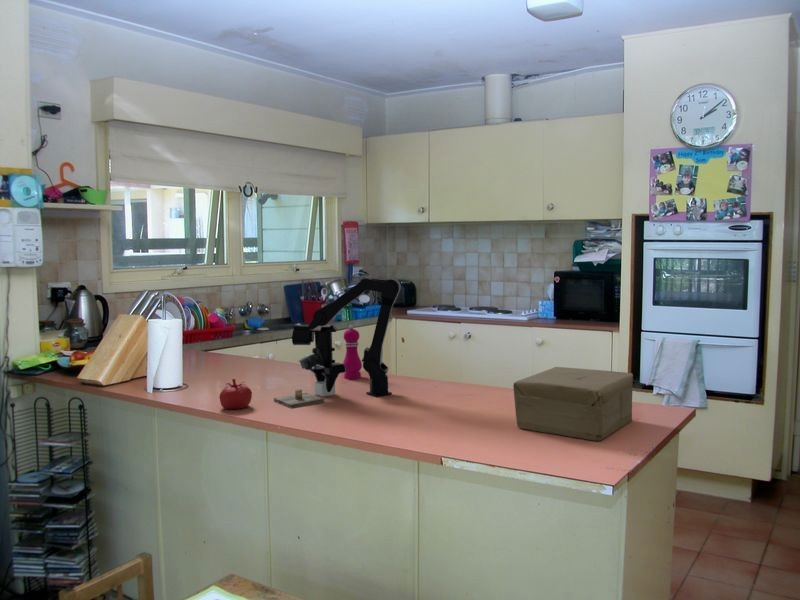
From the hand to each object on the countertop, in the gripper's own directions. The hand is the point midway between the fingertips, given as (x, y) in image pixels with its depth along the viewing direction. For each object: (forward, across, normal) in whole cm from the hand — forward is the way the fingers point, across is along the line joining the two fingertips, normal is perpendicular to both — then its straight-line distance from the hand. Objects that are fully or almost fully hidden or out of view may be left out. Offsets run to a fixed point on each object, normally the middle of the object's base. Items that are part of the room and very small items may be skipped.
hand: (325, 390), depth 240 cm
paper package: (+2, +78, +35) cm, 86 cm away
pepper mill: (+1, -18, +22) cm, 28 cm away
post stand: (+1, +4, -12) cm, 13 cm away
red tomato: (+2, -2, -31) cm, 31 cm away
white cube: (+1, 0, 0) cm, 1 cm away
